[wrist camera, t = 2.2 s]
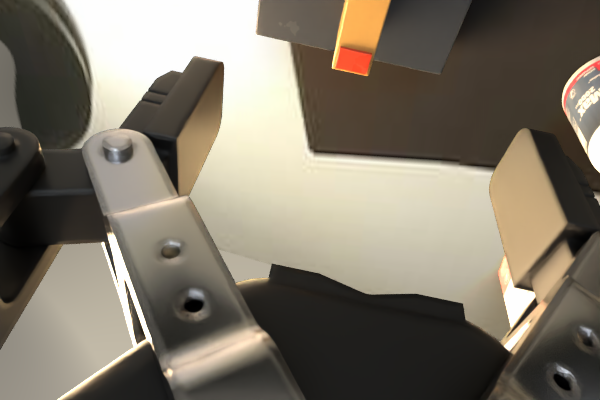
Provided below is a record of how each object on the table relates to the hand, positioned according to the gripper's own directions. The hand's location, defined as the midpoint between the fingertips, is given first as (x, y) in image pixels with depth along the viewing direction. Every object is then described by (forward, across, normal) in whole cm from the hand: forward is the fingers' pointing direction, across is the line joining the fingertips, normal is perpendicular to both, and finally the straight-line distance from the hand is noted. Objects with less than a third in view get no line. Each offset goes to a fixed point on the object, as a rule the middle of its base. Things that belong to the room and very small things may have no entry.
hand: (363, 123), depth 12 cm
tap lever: (+14, 0, 0) cm, 14 cm away
